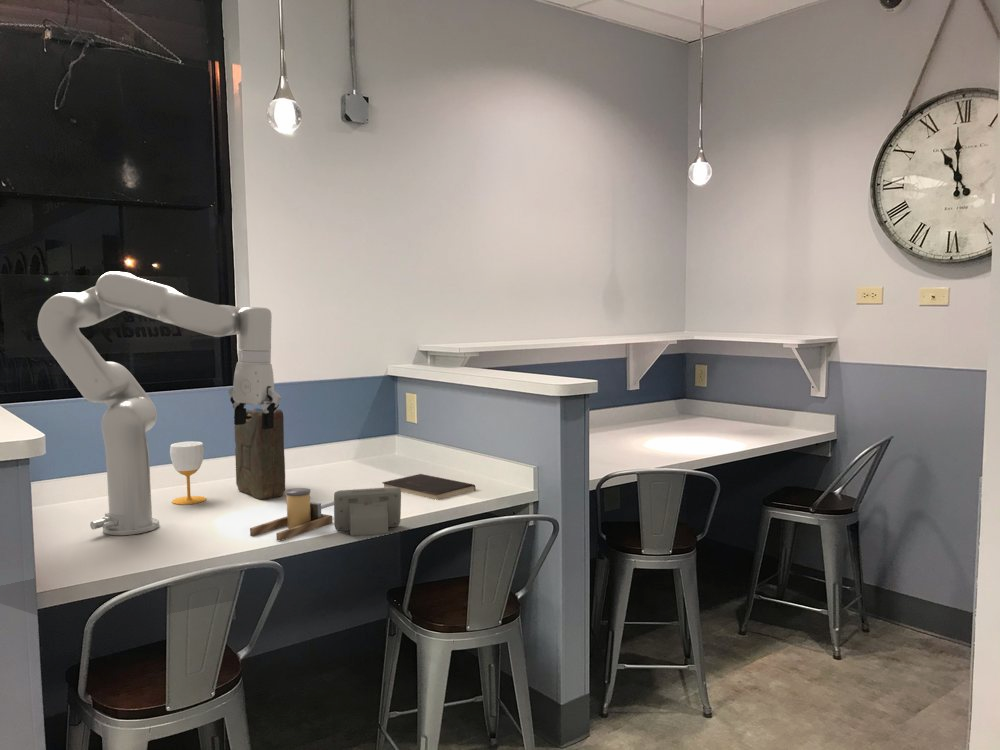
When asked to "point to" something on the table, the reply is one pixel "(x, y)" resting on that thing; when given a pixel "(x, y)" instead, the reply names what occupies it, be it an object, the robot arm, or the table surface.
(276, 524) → the lane
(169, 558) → the table surface
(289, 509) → the jar
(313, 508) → the pusher
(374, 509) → the digital clock
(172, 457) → the cup
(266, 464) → the canister
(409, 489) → the hardcover book
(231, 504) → the table surface
